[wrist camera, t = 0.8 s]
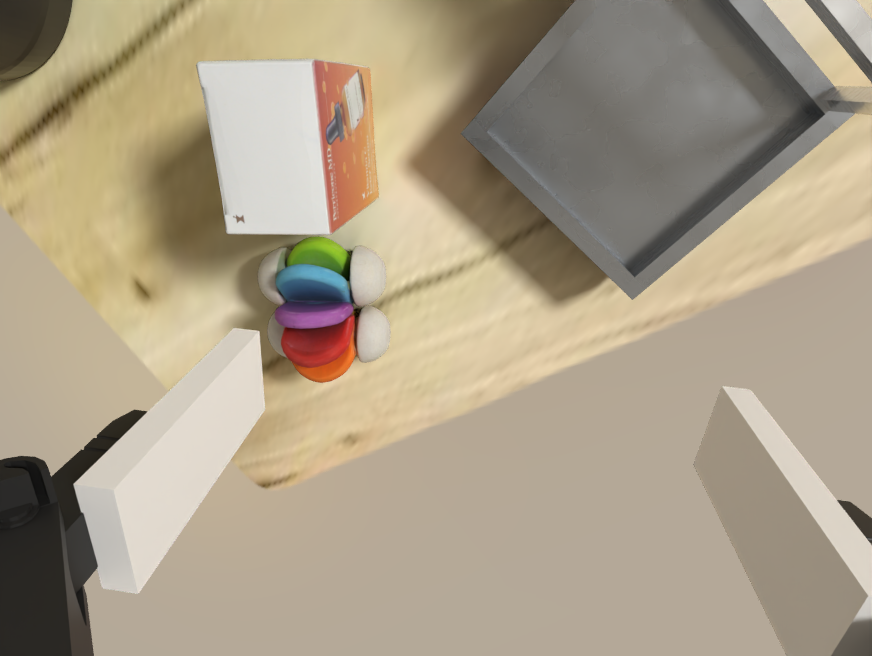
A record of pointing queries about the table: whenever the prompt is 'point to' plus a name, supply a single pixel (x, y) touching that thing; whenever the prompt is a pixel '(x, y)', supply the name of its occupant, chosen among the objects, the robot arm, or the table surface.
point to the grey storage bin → (664, 120)
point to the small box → (290, 143)
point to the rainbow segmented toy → (325, 306)
